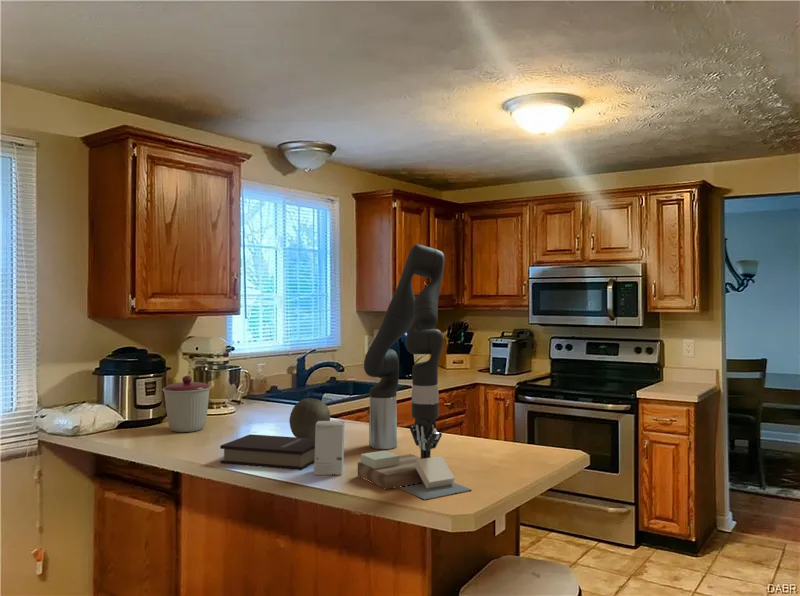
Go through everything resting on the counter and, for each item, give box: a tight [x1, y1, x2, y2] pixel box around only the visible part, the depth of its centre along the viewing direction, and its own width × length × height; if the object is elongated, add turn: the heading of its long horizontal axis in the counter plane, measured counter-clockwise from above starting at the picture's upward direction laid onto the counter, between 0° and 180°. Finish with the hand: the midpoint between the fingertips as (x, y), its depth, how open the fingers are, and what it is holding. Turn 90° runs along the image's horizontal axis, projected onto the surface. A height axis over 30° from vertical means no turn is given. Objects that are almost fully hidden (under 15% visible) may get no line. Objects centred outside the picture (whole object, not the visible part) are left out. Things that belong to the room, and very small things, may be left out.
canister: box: [162, 375, 212, 433], centre depth 258 cm, size 18×18×21 cm
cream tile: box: [415, 455, 456, 489], centre depth 181 cm, size 8×8×2 cm
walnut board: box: [357, 453, 423, 490], centre depth 188 cm, size 16×18×4 cm
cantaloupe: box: [289, 397, 331, 439], centre depth 238 cm, size 14×14×15 cm
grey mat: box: [399, 481, 472, 501], centre depth 177 cm, size 12×15×1 cm
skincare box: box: [313, 420, 345, 476], centre depth 194 cm, size 8×6×15 cm
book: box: [219, 433, 315, 471], centre depth 211 cm, size 28×20×6 cm
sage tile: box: [360, 449, 400, 469], centre depth 188 cm, size 8×8×2 cm
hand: (425, 462), depth 185 cm, fingers closed
